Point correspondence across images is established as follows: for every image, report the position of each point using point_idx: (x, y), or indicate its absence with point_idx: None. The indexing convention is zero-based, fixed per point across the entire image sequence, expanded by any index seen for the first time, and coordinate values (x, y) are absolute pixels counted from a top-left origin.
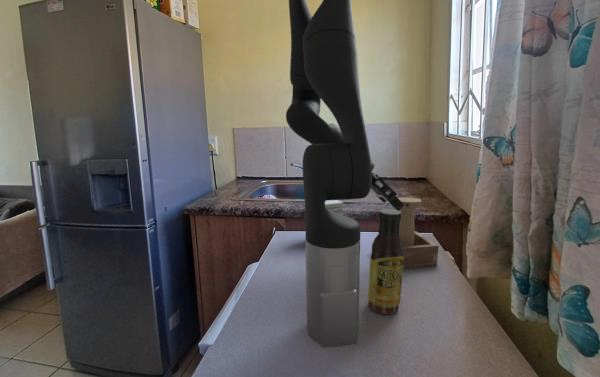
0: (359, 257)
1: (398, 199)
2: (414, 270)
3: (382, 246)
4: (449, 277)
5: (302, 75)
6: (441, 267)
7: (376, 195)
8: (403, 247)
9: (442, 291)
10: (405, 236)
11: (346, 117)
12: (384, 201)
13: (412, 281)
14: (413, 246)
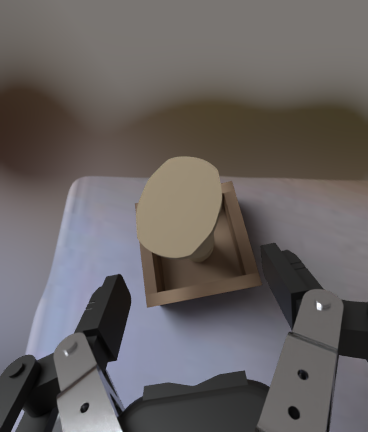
0: None
1: (292, 267)
2: None
3: None
4: (286, 194)
5: None
6: (243, 195)
7: (117, 350)
8: (248, 262)
9: (348, 222)
10: (212, 246)
11: None
12: (129, 299)
13: (315, 266)
14: (239, 236)
